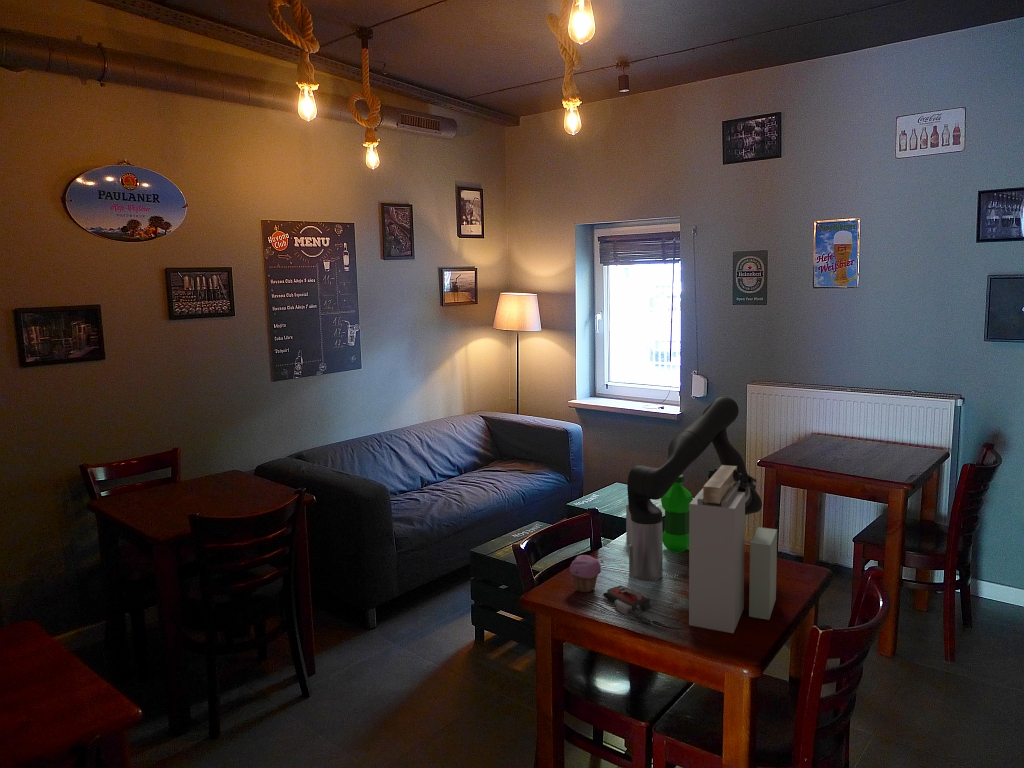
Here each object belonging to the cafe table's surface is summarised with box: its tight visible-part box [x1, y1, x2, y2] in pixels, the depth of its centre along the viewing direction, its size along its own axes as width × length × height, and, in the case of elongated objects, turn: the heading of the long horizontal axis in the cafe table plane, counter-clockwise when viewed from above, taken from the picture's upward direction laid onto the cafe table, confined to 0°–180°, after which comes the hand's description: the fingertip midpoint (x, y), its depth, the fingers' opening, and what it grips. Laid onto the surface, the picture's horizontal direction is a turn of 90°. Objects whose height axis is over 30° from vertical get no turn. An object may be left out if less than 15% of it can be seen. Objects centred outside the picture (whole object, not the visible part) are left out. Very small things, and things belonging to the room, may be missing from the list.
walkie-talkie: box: [603, 585, 652, 624], centre depth 194 cm, size 9×4×20 cm
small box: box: [625, 503, 657, 544], centre depth 243 cm, size 8×6×13 cm
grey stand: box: [688, 486, 746, 634], centre depth 185 cm, size 11×15×34 cm
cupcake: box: [569, 554, 602, 593], centre depth 206 cm, size 9×9×10 cm
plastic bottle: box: [660, 474, 694, 554], centre depth 234 cm, size 10×10×25 cm
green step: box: [748, 526, 778, 621], centre depth 190 cm, size 5×13×20 cm, turn 153°
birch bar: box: [702, 464, 737, 504], centre depth 186 cm, size 4×23×4 cm, turn 153°
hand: (725, 472), depth 191 cm, fingers closed on birch bar, 4 cm apart
